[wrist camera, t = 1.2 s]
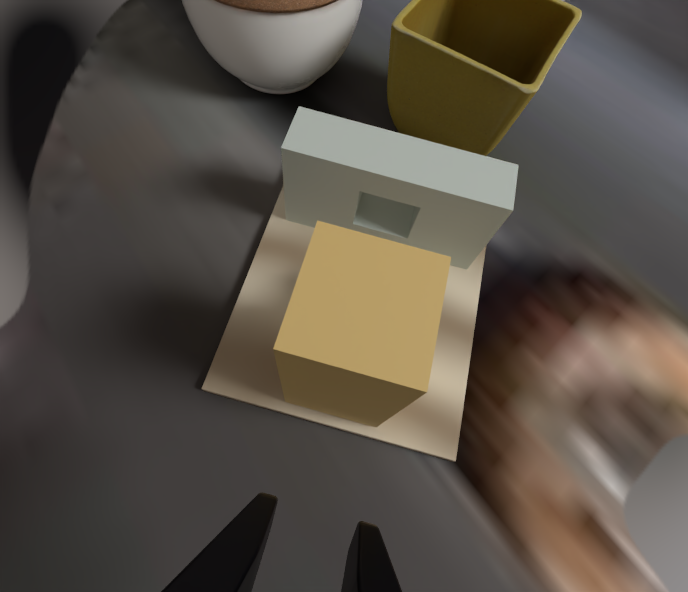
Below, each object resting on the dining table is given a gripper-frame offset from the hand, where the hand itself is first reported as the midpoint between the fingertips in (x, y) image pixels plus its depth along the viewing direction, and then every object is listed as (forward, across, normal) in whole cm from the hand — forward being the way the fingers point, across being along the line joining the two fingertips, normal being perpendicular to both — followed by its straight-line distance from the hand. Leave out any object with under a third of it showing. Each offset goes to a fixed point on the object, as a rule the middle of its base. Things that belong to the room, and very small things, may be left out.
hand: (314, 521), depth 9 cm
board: (+18, 0, +1) cm, 18 cm away
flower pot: (+29, -3, -9) cm, 30 cm away
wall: (+21, 0, -3) cm, 21 cm away
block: (+14, 0, +3) cm, 15 cm away
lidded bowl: (+31, +11, -11) cm, 34 cm away
